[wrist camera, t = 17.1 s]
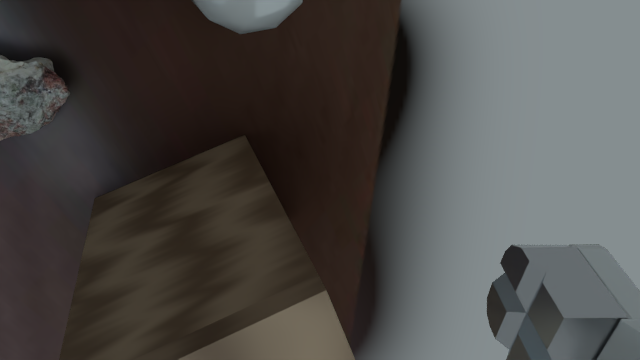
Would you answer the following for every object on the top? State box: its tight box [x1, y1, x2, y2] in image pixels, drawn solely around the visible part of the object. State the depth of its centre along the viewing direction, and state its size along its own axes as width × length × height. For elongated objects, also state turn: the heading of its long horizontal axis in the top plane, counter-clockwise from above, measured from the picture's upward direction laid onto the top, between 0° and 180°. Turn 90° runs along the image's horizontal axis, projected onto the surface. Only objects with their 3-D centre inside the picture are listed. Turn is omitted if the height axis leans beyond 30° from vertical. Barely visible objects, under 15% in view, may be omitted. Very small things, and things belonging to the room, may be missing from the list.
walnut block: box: [59, 135, 355, 360], centre depth 40 cm, size 14×10×26 cm
